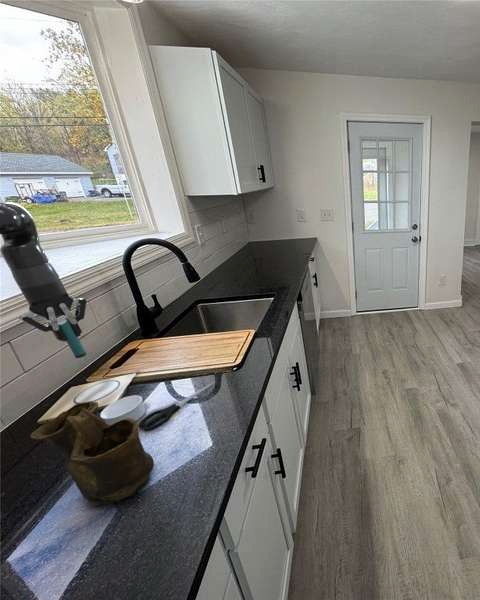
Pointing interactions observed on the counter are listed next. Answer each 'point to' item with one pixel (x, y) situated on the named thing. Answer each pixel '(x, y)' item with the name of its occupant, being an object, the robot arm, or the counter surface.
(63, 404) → the board
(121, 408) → the ramekin
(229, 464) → the counter surface
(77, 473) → the pottery vessel
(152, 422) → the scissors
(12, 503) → the counter surface
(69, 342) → the marker
